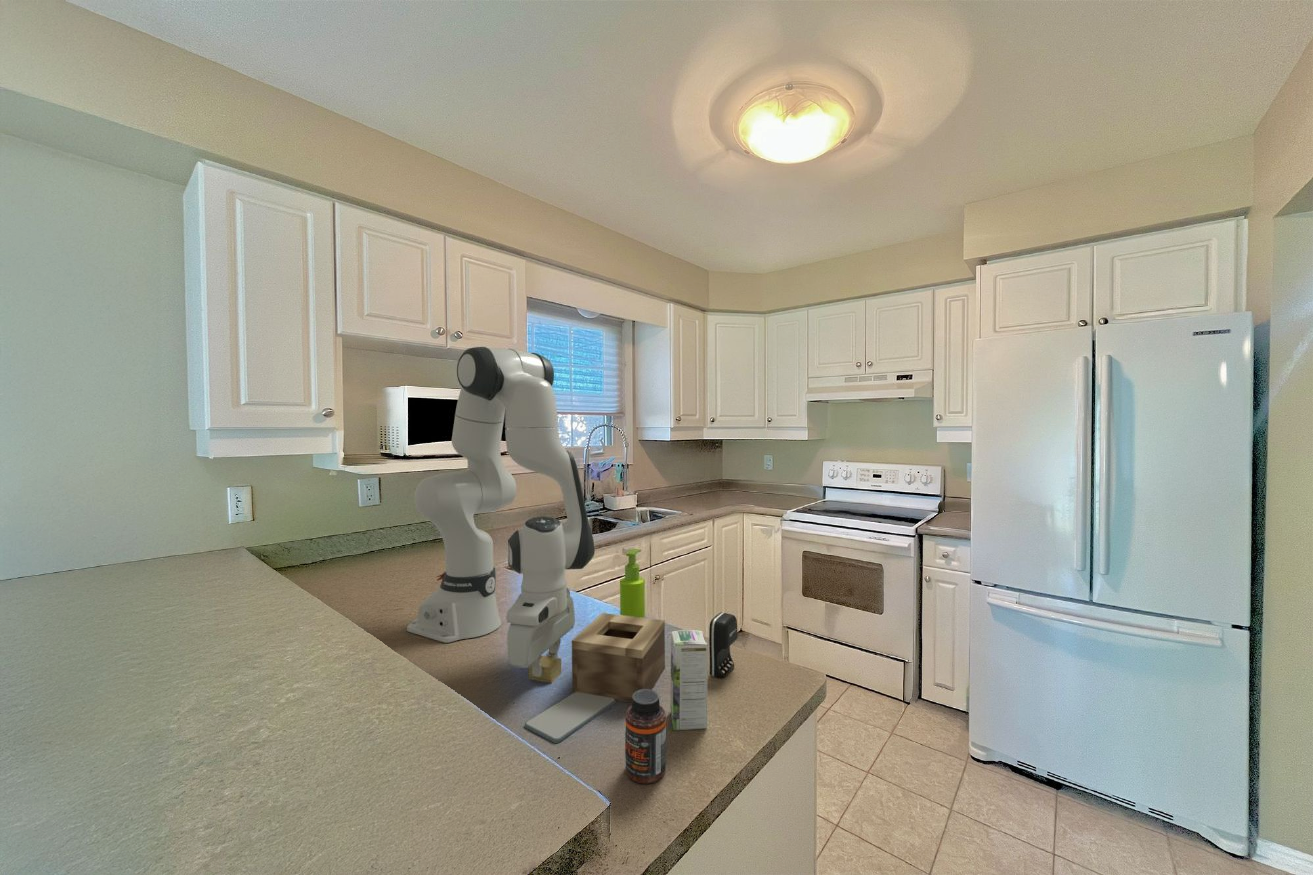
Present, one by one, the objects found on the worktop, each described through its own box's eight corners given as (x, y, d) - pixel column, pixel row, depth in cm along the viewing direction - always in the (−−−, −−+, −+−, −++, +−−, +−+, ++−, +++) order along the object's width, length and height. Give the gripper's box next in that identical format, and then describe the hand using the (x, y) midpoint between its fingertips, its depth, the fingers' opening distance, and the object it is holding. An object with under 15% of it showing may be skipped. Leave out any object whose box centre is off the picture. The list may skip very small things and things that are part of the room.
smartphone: (618, 699, 92) (557, 740, 80) (618, 704, 92) (557, 746, 80) (584, 685, 97) (522, 722, 85) (584, 690, 97) (522, 728, 85)
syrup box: (669, 711, 89) (669, 630, 88) (702, 709, 89) (702, 628, 89) (673, 731, 83) (672, 644, 82) (709, 729, 83) (708, 643, 83)
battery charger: (726, 682, 98) (726, 624, 98) (708, 677, 100) (708, 620, 100) (739, 666, 104) (739, 612, 104) (722, 662, 106) (722, 609, 106)
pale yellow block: (529, 679, 100) (528, 664, 100) (539, 669, 104) (539, 655, 104) (551, 683, 98) (551, 667, 98) (561, 673, 102) (561, 658, 102)
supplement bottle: (617, 778, 72) (617, 701, 72) (636, 753, 78) (635, 681, 77) (656, 791, 70) (655, 711, 69) (672, 764, 75) (671, 689, 75)
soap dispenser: (650, 629, 123) (649, 548, 123) (639, 641, 117) (639, 555, 116) (627, 626, 125) (626, 546, 124) (616, 637, 119) (615, 553, 118)
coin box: (572, 692, 95) (571, 640, 94) (602, 658, 108) (601, 612, 108) (642, 704, 91) (642, 650, 90) (664, 668, 104) (664, 620, 104)
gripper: (555, 582, 111) (556, 643, 112) (500, 617, 92) (501, 691, 92) (581, 585, 109) (582, 647, 110) (530, 621, 90) (532, 697, 90)
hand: (545, 668), depth 101 cm, fingers closed on pale yellow block, 4 cm apart
